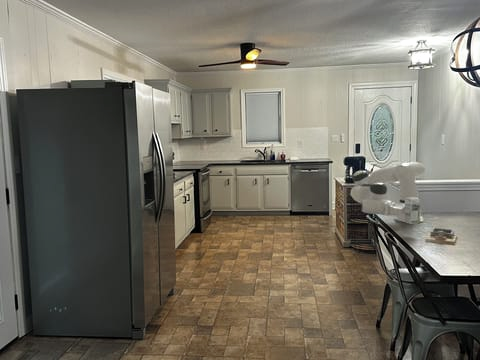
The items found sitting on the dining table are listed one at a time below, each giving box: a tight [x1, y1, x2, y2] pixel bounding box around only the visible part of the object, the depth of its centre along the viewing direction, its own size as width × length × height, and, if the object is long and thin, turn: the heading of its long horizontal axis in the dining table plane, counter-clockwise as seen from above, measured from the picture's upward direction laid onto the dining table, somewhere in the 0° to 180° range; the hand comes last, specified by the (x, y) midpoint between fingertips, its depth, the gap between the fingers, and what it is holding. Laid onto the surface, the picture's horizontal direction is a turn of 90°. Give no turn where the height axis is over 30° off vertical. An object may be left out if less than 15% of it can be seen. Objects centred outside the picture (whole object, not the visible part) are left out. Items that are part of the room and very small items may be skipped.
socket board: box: [425, 227, 458, 245], centre depth 233 cm, size 18×14×6 cm
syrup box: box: [404, 197, 421, 225], centre depth 241 cm, size 6×6×14 cm
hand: (413, 209), depth 241 cm, fingers closed on syrup box, 8 cm apart
